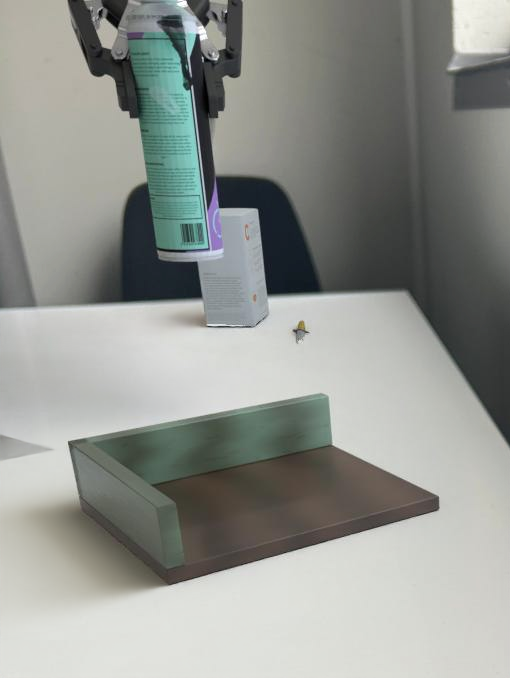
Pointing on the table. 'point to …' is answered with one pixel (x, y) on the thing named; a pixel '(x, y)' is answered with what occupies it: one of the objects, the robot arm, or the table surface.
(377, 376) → the table surface
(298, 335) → the dagger
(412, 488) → the corner board
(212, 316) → the small box
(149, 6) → the spray can
